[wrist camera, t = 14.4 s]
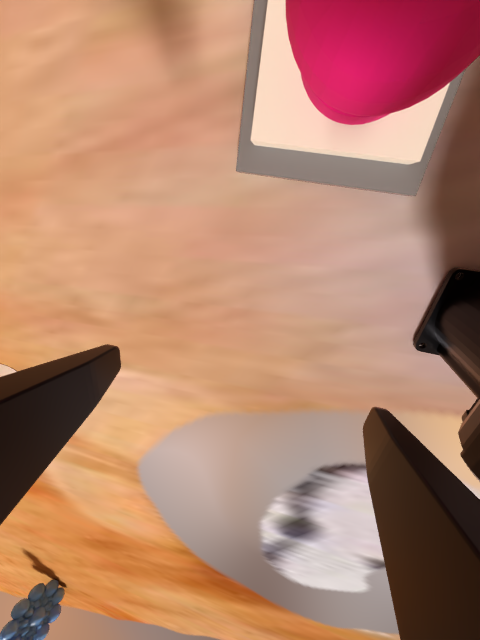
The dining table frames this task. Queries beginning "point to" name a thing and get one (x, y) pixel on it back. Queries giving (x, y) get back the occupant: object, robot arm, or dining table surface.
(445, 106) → the grey square coaster
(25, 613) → the grapes
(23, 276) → the dining table surface
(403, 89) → the pepper mill
